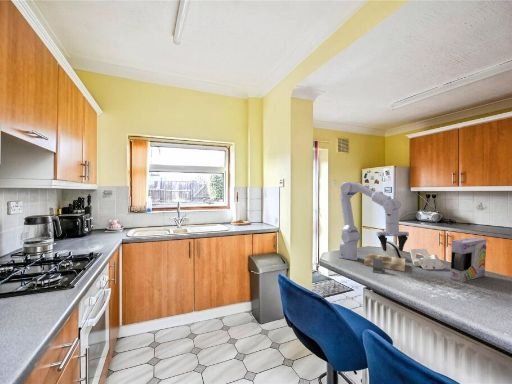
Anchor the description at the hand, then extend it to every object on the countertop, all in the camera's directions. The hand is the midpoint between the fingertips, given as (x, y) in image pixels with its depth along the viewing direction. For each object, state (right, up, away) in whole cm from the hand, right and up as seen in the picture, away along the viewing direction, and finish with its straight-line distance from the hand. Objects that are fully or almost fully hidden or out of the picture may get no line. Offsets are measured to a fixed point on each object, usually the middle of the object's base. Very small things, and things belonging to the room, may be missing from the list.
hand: (392, 250), depth 120 cm
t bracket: (-8, -10, -1) cm, 13 cm away
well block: (+1, -10, +9) cm, 13 cm away
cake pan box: (+28, -10, -10) cm, 32 cm away
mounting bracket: (+21, -10, +5) cm, 23 cm away
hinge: (+13, -10, +24) cm, 29 cm away
